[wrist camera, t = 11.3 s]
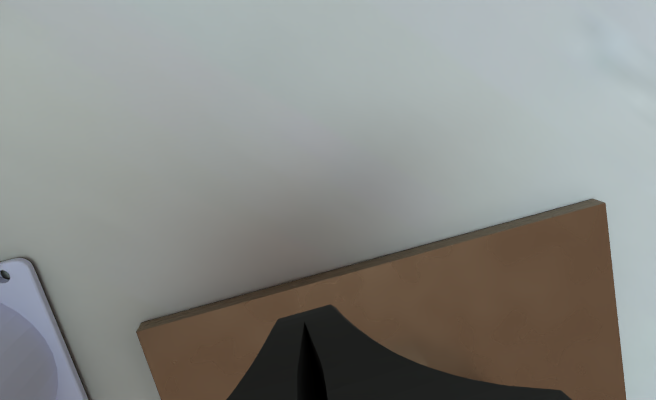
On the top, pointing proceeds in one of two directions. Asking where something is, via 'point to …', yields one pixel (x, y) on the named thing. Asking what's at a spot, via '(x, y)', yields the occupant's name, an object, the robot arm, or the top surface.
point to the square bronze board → (434, 312)
